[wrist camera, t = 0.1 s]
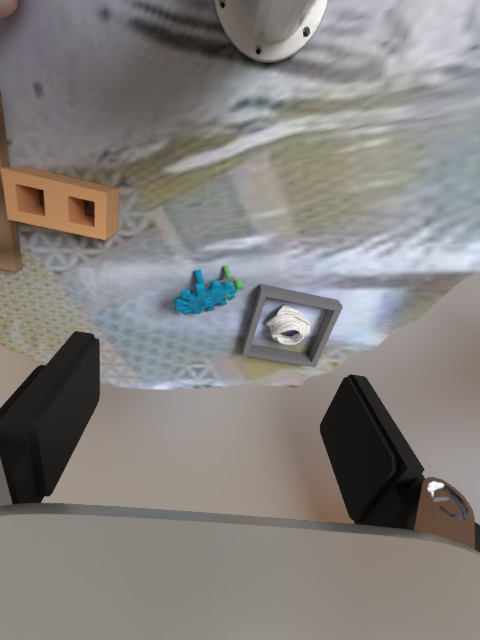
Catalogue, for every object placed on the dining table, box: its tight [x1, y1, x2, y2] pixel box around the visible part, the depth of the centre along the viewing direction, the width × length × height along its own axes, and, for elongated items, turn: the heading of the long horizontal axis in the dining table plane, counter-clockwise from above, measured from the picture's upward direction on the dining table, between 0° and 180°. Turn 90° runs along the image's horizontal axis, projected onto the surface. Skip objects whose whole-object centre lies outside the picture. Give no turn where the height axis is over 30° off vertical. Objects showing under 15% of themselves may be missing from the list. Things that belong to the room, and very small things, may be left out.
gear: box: [173, 266, 243, 315], centre depth 46 cm, size 11×6×10 cm
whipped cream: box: [266, 305, 310, 345], centre depth 51 cm, size 8×7×5 cm
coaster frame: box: [242, 284, 343, 367], centre depth 52 cm, size 13×14×2 cm
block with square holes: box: [1, 166, 119, 240], centre depth 39 cm, size 12×6×5 cm, turn 77°
